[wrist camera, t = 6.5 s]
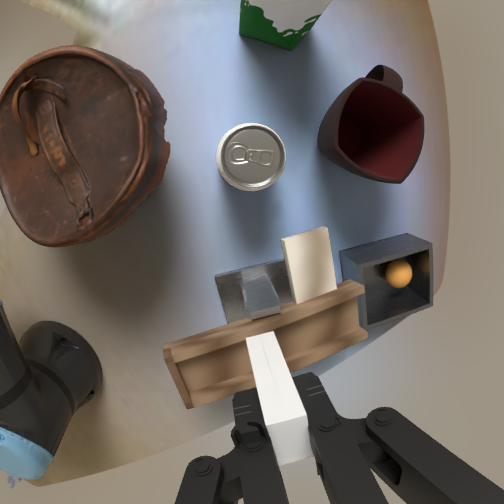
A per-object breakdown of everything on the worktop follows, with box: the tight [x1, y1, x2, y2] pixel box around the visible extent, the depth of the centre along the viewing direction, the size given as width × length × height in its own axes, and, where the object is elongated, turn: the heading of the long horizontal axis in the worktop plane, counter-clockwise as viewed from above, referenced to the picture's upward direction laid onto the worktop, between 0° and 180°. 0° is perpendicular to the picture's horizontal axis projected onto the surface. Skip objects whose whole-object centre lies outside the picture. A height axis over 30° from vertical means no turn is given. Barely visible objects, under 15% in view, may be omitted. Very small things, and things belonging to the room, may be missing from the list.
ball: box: [385, 259, 412, 288], centre depth 42 cm, size 4×4×4 cm
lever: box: [163, 227, 368, 409], centre depth 32 cm, size 22×14×3 cm, turn 103°
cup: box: [318, 65, 424, 184], centre depth 33 cm, size 10×14×12 cm
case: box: [0, 45, 170, 247], centre depth 28 cm, size 18×20×18 cm
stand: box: [215, 258, 294, 375], centre depth 38 cm, size 10×11×11 cm
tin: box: [339, 233, 433, 330], centre depth 41 cm, size 11×9×6 cm
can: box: [216, 123, 286, 191], centre depth 33 cm, size 6×6×12 cm
